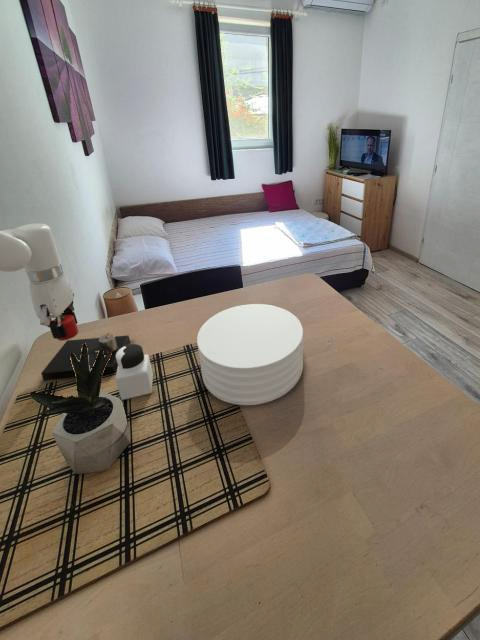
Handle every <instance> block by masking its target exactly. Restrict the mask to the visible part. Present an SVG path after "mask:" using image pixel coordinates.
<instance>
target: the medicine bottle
mask: <svg viewBox="0 0 480 640" xmlns="http://www.w3.org/2000/svg"><path fill="white" fill-rule="evenodd" d="M150 359H151V358H150V356H149V354H148V353H147V354H145V353H144V349H143V347H142V346H141V345H140V344H138V343H129V345H127V346H124V347H122V348H121V349H120V350H119V351H118V352H117V353H116V360H117V363H118V367H117V369H116V374H115V383H116V387H117V390H118V394H119V397H120V400H121V401H124V400H128V399H133V398H136V397H141V396H145V395H149V394H152V392H153V381H154V380H153V378H154V372H153V369H152V364H151V360H150Z"/></svg>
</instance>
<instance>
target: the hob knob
mask: <svg viewBox="0 0 480 640" xmlns="http://www.w3.org/2000/svg"><path fill="white" fill-rule="evenodd" d="M115 336H116V335H115V334H113V333H110V332H106V334H103V335H101V336H100V337H98V338H99V343H100V347H101V349H103V351H104V355H107V354H108V353H109V352H110V350H111V349H113V351H112V354H113V353H115V352H116V351H117V349H118V347H117V344H116V340H115Z"/></svg>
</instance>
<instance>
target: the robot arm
mask: <svg viewBox="0 0 480 640" xmlns="http://www.w3.org/2000/svg"><path fill="white" fill-rule="evenodd" d="M22 269H24V270H25V273H26V276H27V279H28V281H29V294H30V298H31V302H32V305H33V309H34V312H35V314H36V317H37V318H38V319H40V320H39V324H40V325H41V326H43V327H44V326H45V327H47V328H49V329H50V332H51V335H52V337H53V339H56V340H57V338H66V337H67V333H66V330H65V328H64V325H63V324H61V318H60V315H61V314H62V315H73V316H74V319H75V322H76V325H77V324H78V323H79V322H78V319H77V316H76V313H75V307H74V298H75V297H74V296H75V293H74V292H73V289H72V286H71V284H70V282H69V279H68V277H67V275H66V272H65V269H64V267H63V263H62V260H61V256H60V255H59V250H58V248H57V244H56V241H55V238H54V236H53V232H52V229H51V227H50V226H49V225H48V224H46V223H40V222H39V223H38V222H37V223H36V222H35V223H28V224H23V225H21V226H18V227H16V228H10V229H3V230H0V272H6V273H10V272H11V273H12V272H17V271H20V270H22ZM55 318H56V321H53V319H55Z"/></svg>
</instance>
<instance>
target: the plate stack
mask: <svg viewBox="0 0 480 640" xmlns="http://www.w3.org/2000/svg"><path fill="white" fill-rule="evenodd" d="M196 344H197V350H198V357H199V363H200V370H201V377H202V381H203V384H204V387H205V388H206V389H207V391H208V392H209V393H210V394H211V395H213V396H214V397H215V398H217V399H219V400H221V401H222V402H226V403H228V404H232V405H239V406H256V405H262V404H266V403H270V402H273V401H274V400H277V399H280V398H281V397H283V396H285V395H286V394H288V392H290V391H291V390H292V389H294V387H295V386H296V385H297V383H298V382H299V380H300V378H301V376H302V373H303V369H304V328H303V325H302V323H301V321H300V320H299V318H298V317H297V316H296V315H295V314H293V313H292V312H290V311H289V310H287V309H285V308H282V307H279V306H276V305H273V304H272V305H271V304H266V303H264V304H263V303H250V304H241V305H237V306H232V307H230V308H229V307H228V308H227V309H224V310H222V311H219V312H217V313H216V314H214V315H212V316H211V317H210V318H208V319H207V320H206V321H205V322H204V323H203V324H202V326H201V327H200V328H199V330H198V333H197V337H196Z"/></svg>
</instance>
